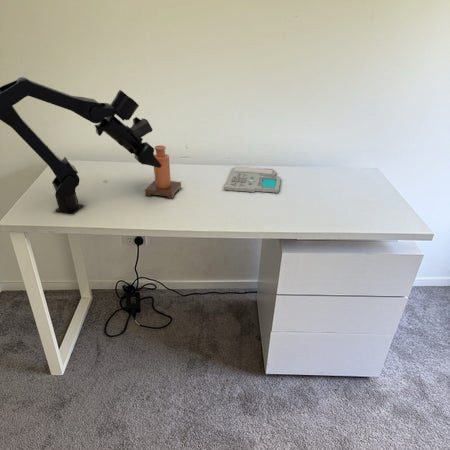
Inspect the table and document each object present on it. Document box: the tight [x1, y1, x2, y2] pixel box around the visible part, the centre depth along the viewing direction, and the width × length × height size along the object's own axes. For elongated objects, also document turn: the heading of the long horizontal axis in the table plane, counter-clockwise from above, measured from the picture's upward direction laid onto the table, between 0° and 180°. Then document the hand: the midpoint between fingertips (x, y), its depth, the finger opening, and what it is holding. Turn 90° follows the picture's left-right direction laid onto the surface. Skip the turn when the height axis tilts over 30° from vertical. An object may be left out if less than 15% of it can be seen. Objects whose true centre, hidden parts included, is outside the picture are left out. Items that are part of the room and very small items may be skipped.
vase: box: [153, 144, 172, 189], centre depth 134 cm, size 6×6×14 cm
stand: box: [144, 179, 182, 200], centre depth 139 cm, size 10×10×2 cm
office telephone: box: [224, 165, 281, 194], centre depth 149 cm, size 23×3×20 cm
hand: (156, 162), depth 132 cm, fingers open, 9 cm apart
